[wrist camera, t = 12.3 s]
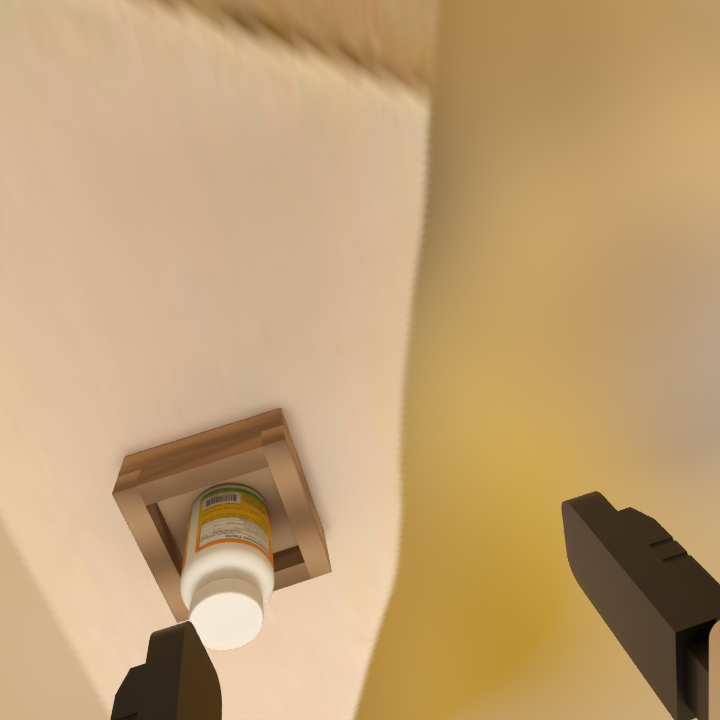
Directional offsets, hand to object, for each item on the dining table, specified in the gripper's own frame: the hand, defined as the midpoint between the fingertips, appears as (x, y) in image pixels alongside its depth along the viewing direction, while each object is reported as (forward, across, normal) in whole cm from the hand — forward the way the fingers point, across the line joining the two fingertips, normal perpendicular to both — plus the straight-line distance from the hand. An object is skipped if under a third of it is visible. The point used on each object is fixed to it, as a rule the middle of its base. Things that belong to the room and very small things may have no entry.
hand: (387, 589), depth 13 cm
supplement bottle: (+26, +8, +15) cm, 32 cm away
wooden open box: (+29, +9, +15) cm, 34 cm away
